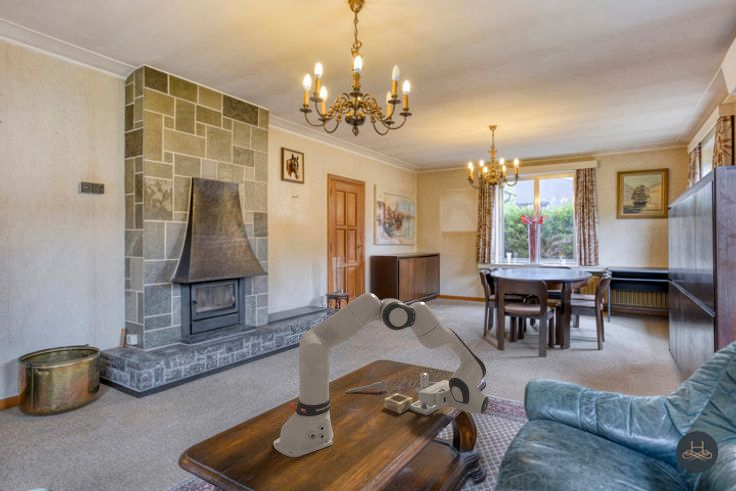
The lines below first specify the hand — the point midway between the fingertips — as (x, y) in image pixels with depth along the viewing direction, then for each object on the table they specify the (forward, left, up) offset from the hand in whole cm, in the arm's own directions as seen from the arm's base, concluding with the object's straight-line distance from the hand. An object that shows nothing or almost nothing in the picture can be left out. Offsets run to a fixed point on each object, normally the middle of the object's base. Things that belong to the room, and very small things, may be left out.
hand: (422, 386), depth 172 cm
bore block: (-6, +9, -10) cm, 14 cm away
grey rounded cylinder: (0, -1, -9) cm, 9 cm away
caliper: (-3, +32, -10) cm, 33 cm away
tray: (0, -1, -10) cm, 10 cm away
